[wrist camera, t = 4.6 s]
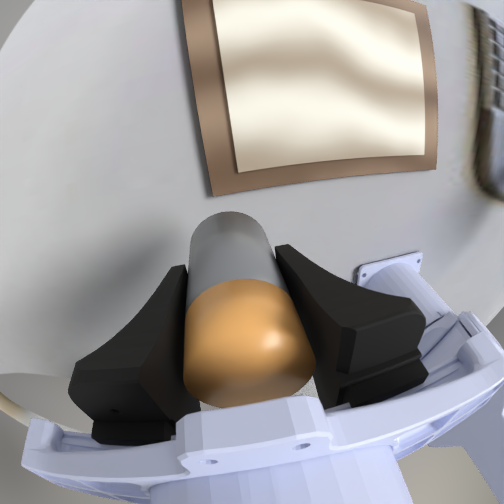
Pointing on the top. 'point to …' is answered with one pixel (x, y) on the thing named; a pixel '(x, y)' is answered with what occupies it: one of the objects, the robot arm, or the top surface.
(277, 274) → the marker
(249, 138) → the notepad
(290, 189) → the top surface
